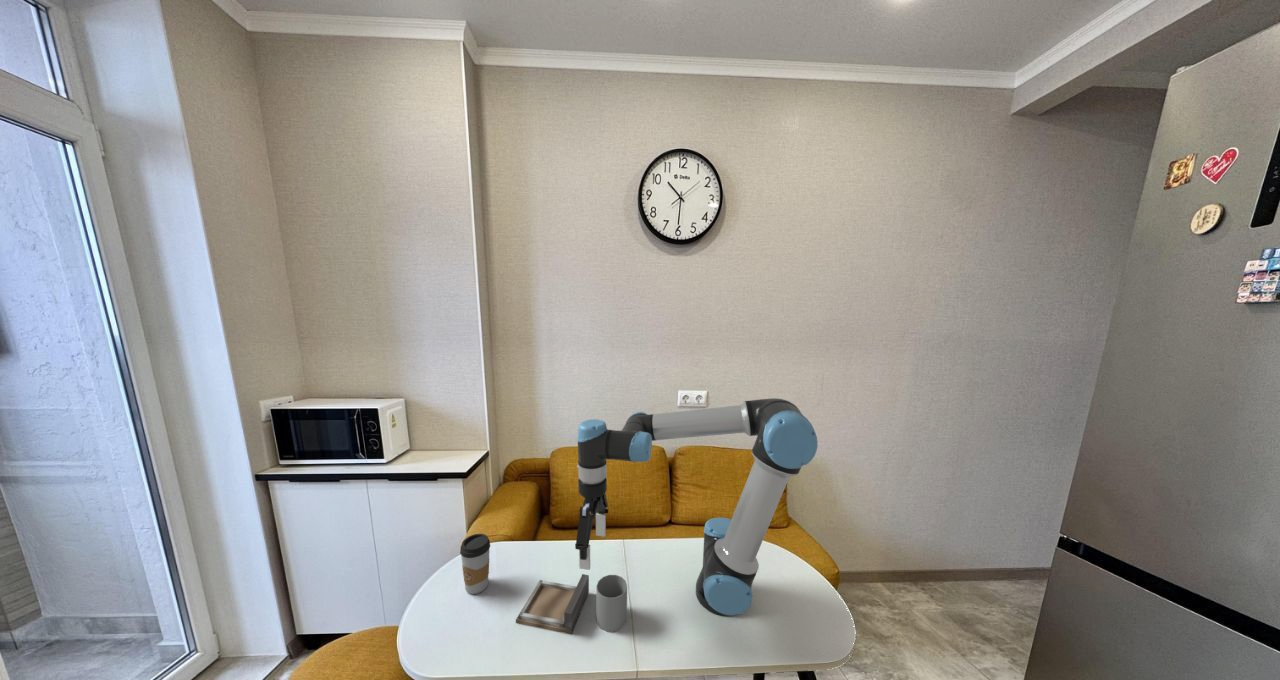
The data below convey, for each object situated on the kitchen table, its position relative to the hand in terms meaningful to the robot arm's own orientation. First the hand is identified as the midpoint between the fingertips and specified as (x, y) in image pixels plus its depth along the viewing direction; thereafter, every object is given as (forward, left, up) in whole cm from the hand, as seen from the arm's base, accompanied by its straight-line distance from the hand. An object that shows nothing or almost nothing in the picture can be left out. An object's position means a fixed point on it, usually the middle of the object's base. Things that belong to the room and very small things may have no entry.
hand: (593, 550), depth 104 cm
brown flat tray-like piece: (+11, +1, -19) cm, 22 cm away
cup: (-6, +1, -19) cm, 20 cm away
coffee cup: (+37, -1, -19) cm, 42 cm away
